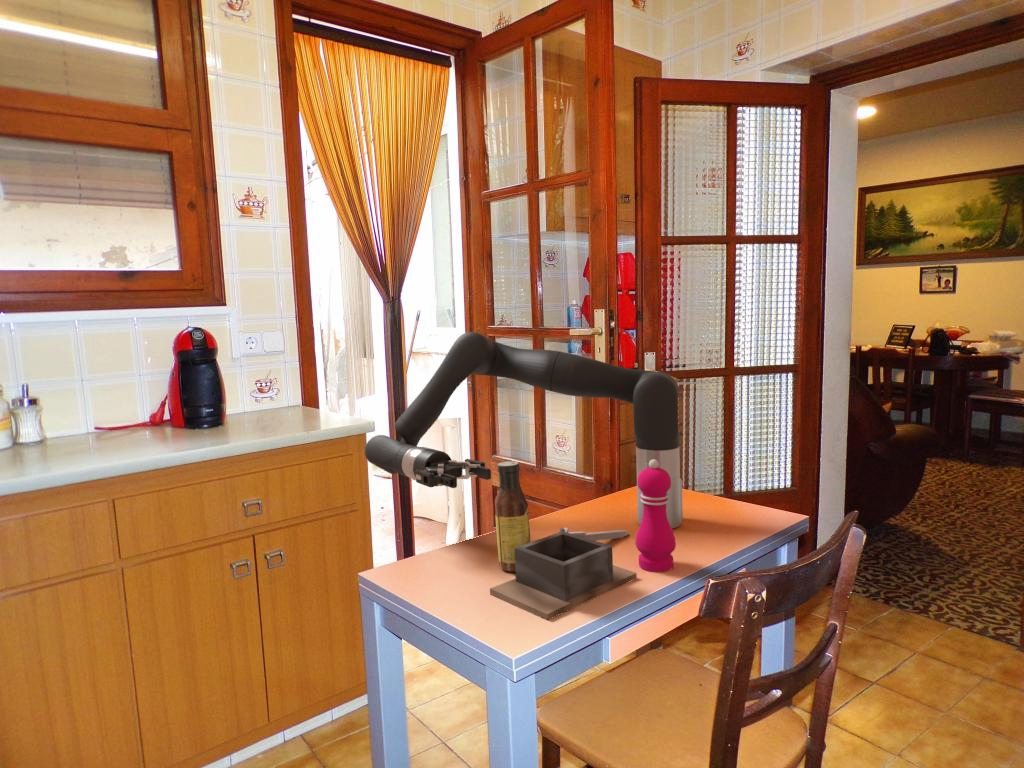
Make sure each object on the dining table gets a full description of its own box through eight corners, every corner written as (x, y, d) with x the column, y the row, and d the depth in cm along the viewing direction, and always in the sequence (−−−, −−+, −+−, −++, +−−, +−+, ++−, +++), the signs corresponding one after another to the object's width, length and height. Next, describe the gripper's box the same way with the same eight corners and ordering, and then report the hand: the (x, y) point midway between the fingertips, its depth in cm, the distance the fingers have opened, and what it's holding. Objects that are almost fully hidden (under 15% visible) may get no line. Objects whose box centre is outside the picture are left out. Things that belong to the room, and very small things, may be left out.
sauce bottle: (538, 567, 126) (534, 463, 124) (511, 576, 122) (506, 469, 120) (518, 558, 131) (513, 458, 129) (491, 566, 128) (486, 463, 125)
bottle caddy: (578, 558, 129) (577, 523, 129) (636, 578, 119) (635, 539, 118) (490, 594, 115) (488, 554, 114) (547, 620, 104) (545, 576, 104)
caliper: (560, 562, 129) (558, 530, 128) (556, 560, 130) (554, 529, 129) (630, 536, 142) (629, 507, 141) (626, 534, 142) (625, 506, 142)
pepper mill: (628, 562, 126) (625, 458, 124) (660, 555, 129) (658, 453, 127) (651, 576, 119) (648, 465, 117) (684, 568, 122) (682, 460, 120)
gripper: (397, 454, 140) (442, 466, 128) (452, 443, 150) (499, 454, 138) (399, 489, 141) (444, 504, 129) (453, 476, 151) (500, 489, 138)
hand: (472, 478), depth 133 cm, fingers open, 8 cm apart
